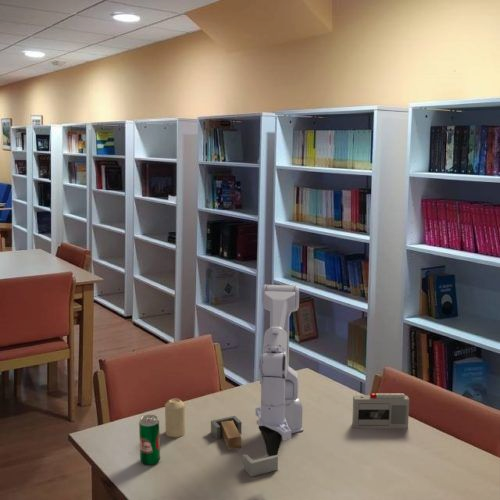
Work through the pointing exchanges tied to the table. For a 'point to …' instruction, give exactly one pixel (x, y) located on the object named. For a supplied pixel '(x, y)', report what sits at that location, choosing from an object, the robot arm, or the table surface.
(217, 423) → the fixed cap
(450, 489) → the table surface
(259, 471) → the cap
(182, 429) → the candle
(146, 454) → the soda can
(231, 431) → the brown wooden block
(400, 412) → the cassette player
